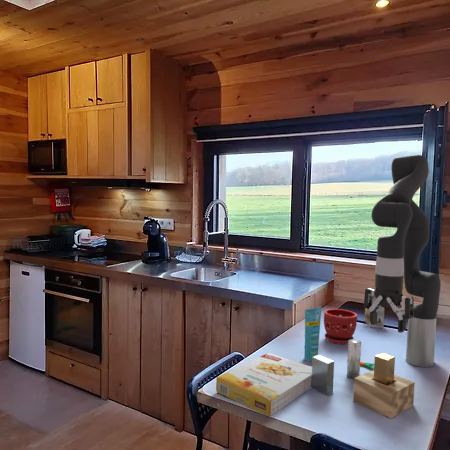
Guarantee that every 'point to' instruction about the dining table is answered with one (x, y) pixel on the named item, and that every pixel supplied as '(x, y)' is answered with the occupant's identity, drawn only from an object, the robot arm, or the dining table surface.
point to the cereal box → (265, 383)
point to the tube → (312, 332)
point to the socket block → (384, 394)
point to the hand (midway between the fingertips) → (386, 328)
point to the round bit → (353, 359)
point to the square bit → (384, 369)
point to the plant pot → (339, 325)
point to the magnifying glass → (366, 365)
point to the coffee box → (379, 315)
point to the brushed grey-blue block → (322, 374)
